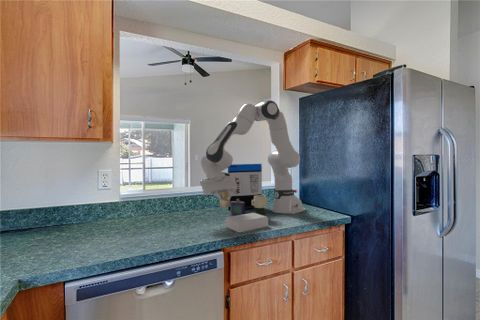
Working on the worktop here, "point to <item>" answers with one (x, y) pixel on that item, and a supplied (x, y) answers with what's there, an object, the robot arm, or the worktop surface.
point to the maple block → (225, 198)
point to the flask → (237, 208)
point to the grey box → (246, 222)
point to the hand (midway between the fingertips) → (225, 198)
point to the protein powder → (246, 183)
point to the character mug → (260, 204)
